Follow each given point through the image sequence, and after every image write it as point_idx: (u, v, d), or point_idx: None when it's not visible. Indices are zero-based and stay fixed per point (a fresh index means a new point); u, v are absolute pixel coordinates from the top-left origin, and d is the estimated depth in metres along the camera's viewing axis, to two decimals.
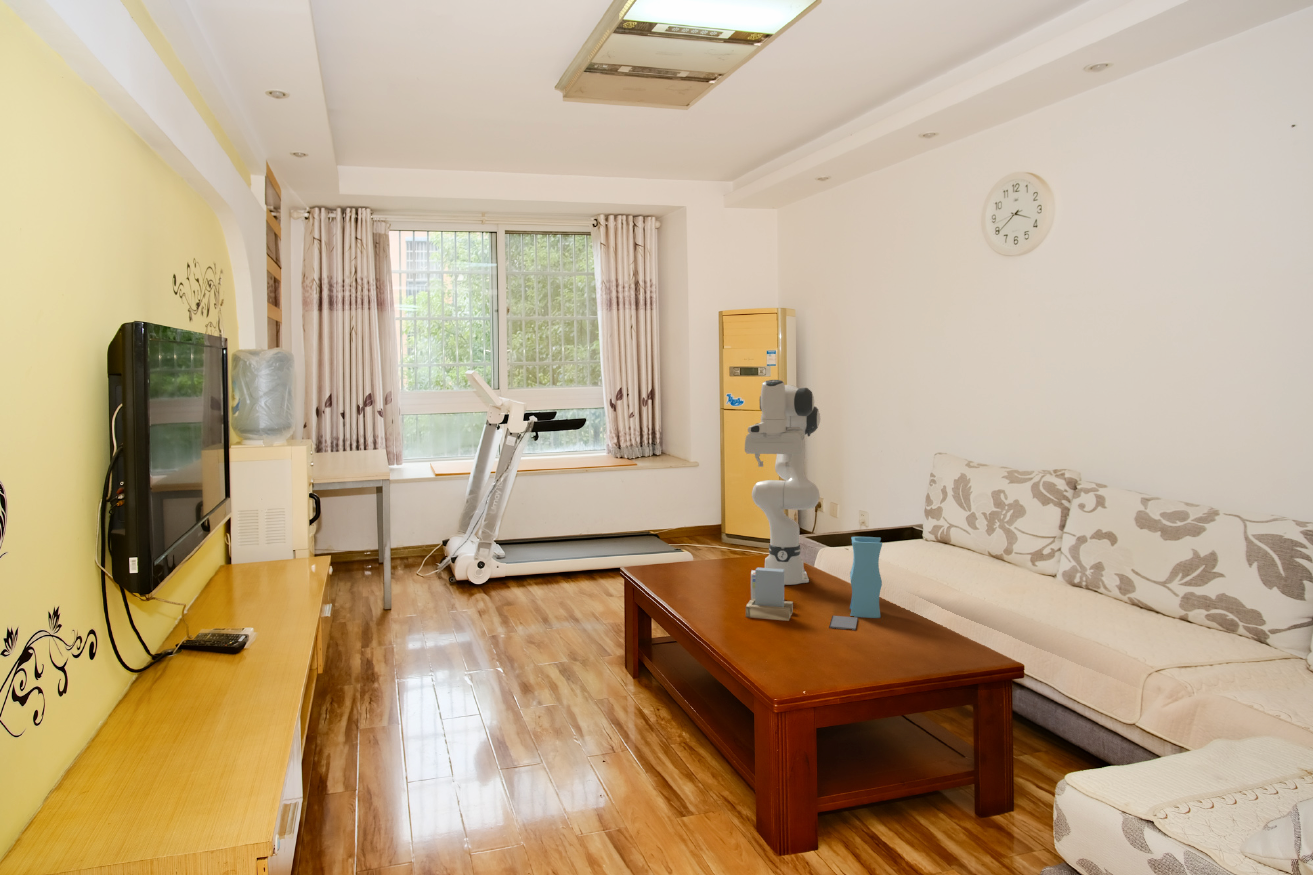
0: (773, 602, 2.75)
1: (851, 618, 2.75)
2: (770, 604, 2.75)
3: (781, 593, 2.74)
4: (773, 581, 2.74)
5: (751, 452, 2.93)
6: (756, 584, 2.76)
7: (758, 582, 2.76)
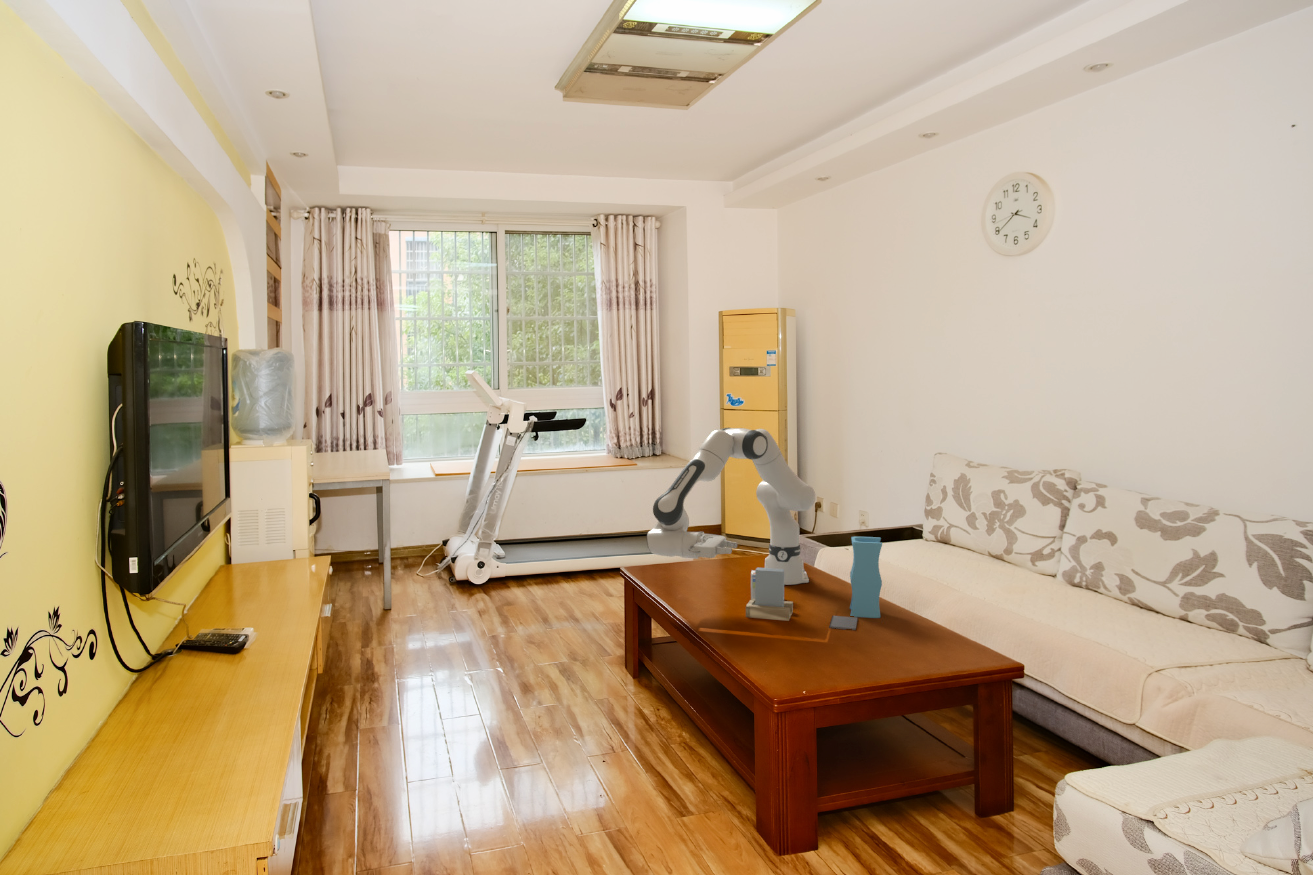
0: (773, 602, 2.75)
1: (851, 618, 2.75)
2: (770, 604, 2.75)
3: (781, 593, 2.74)
4: (773, 581, 2.74)
5: (723, 547, 2.88)
6: (756, 584, 2.76)
7: (758, 582, 2.76)
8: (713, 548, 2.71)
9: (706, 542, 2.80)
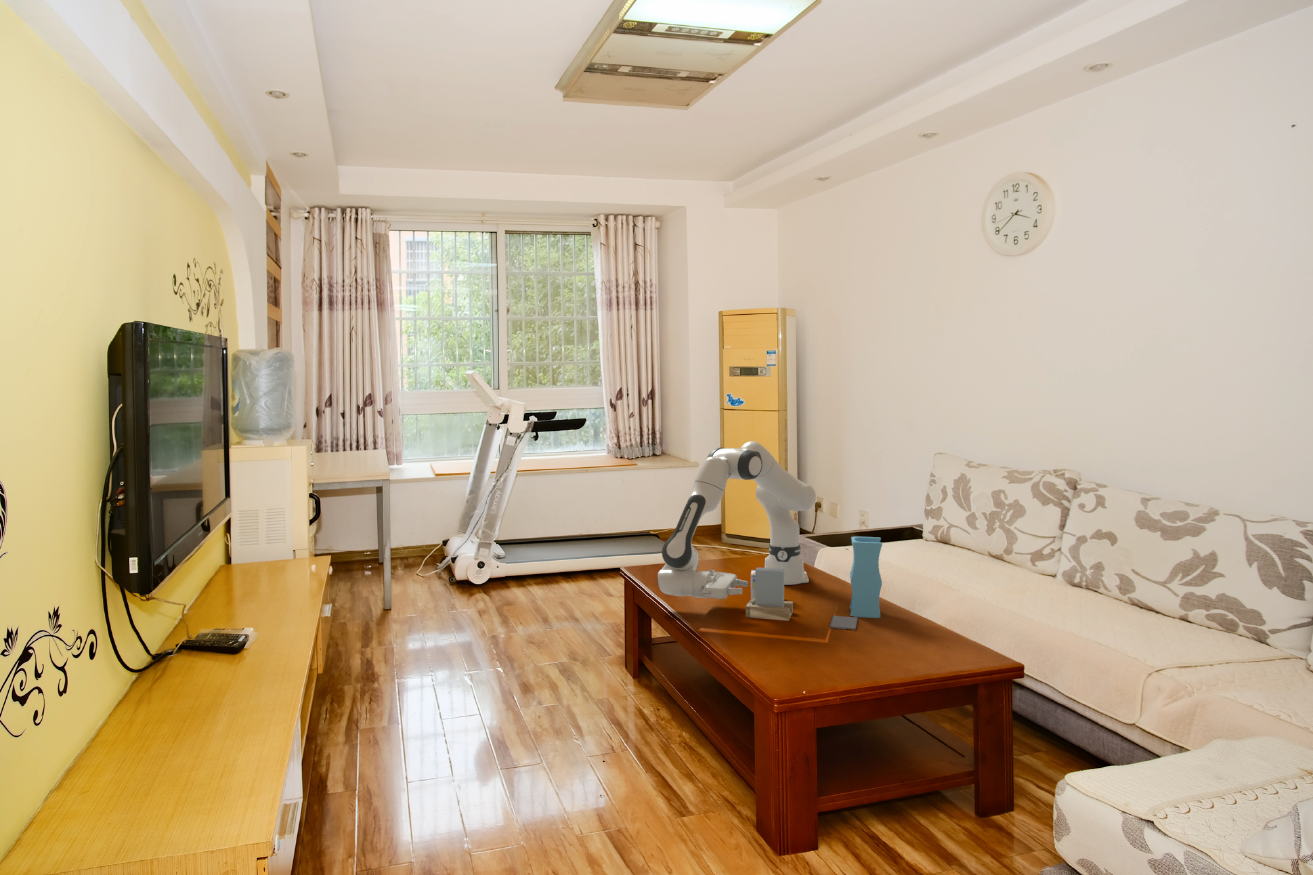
0: (773, 602, 2.75)
1: (851, 618, 2.75)
2: (770, 604, 2.75)
3: (781, 593, 2.74)
4: (773, 581, 2.74)
5: None
6: (756, 584, 2.76)
7: (758, 582, 2.76)
8: (724, 589, 2.72)
9: (717, 582, 2.80)
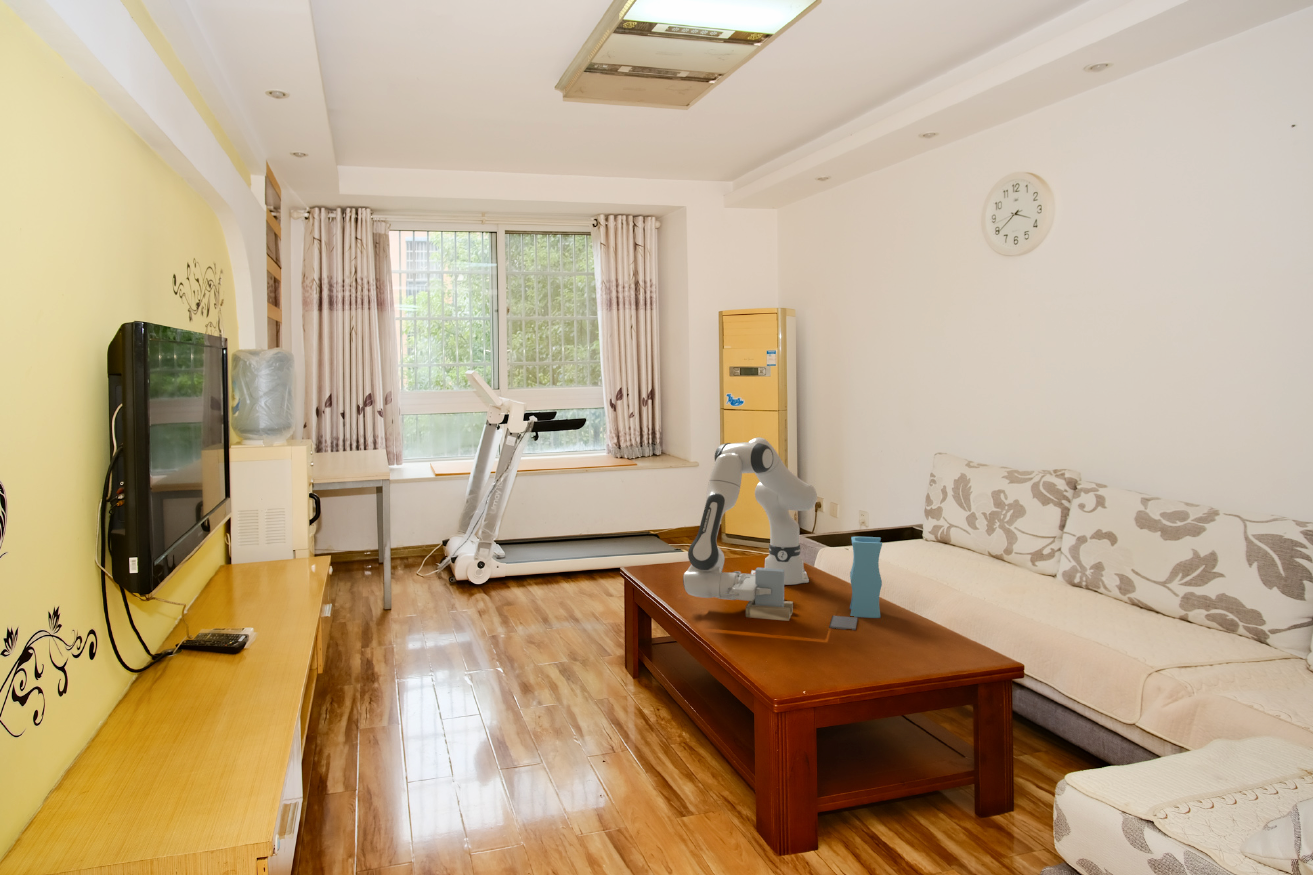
0: (773, 602, 2.75)
1: (851, 618, 2.75)
2: (770, 604, 2.75)
3: (781, 593, 2.74)
4: (773, 581, 2.74)
5: None
6: None
7: (758, 582, 2.76)
8: (752, 591, 2.69)
9: (744, 583, 2.78)
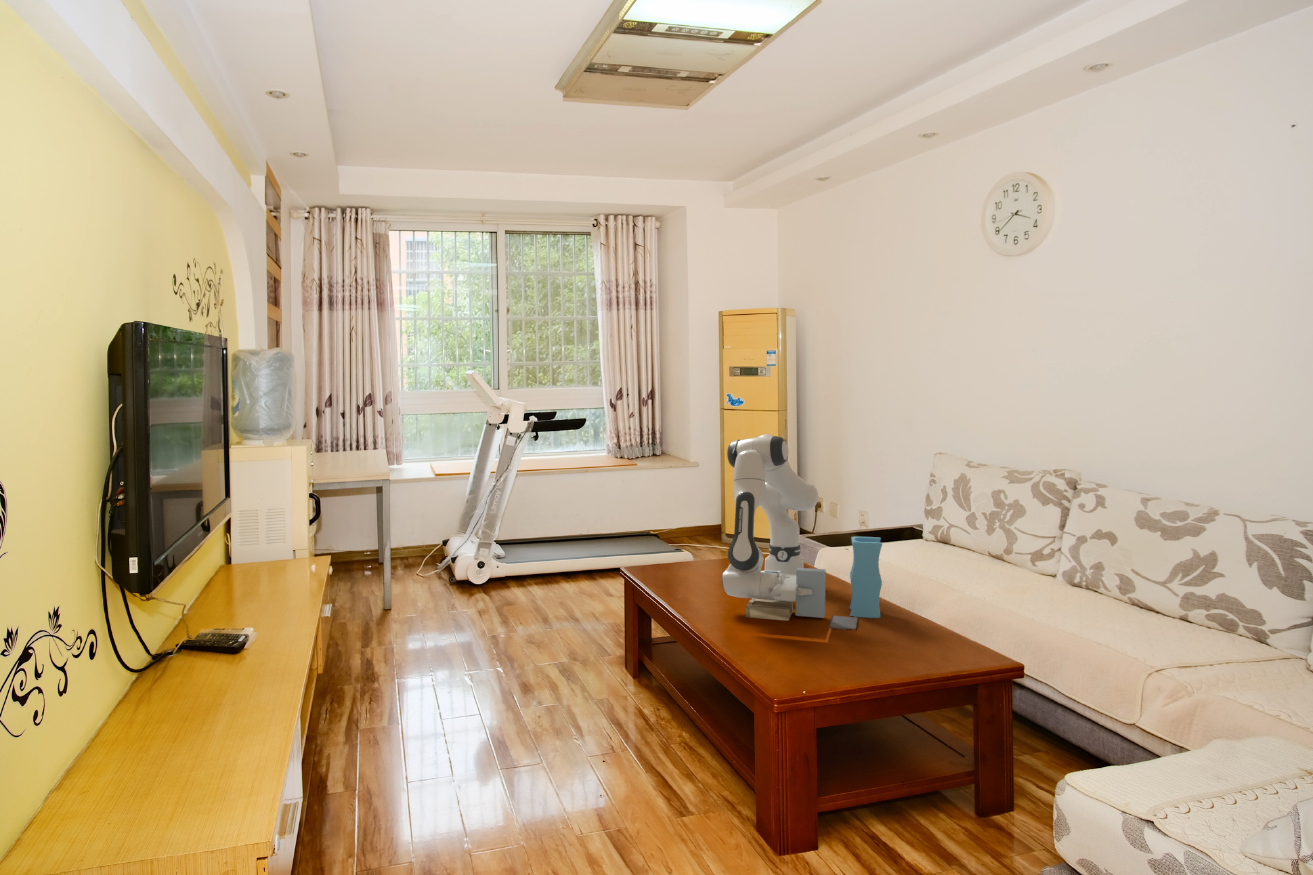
0: (814, 603, 2.71)
1: (851, 618, 2.75)
2: (811, 605, 2.72)
3: (823, 593, 2.70)
4: (815, 581, 2.71)
5: None
6: (797, 584, 2.72)
7: (799, 583, 2.72)
8: (794, 591, 2.65)
9: (784, 584, 2.74)
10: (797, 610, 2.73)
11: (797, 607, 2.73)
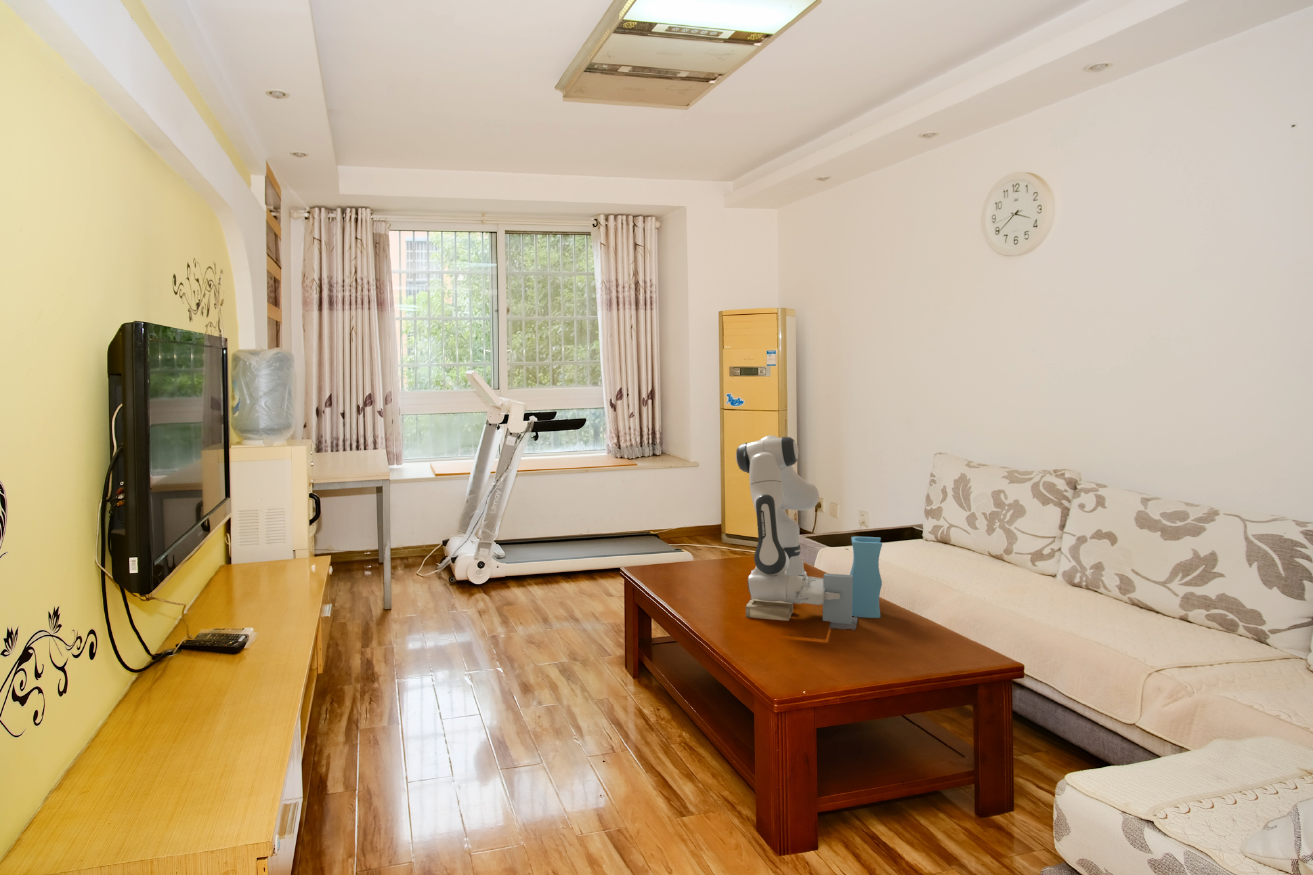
0: (841, 609, 2.69)
1: None
2: (838, 611, 2.69)
3: (850, 599, 2.68)
4: (842, 587, 2.68)
5: None
6: None
7: (827, 589, 2.70)
8: (822, 595, 2.63)
9: (811, 587, 2.71)
10: (824, 616, 2.71)
11: (824, 613, 2.71)
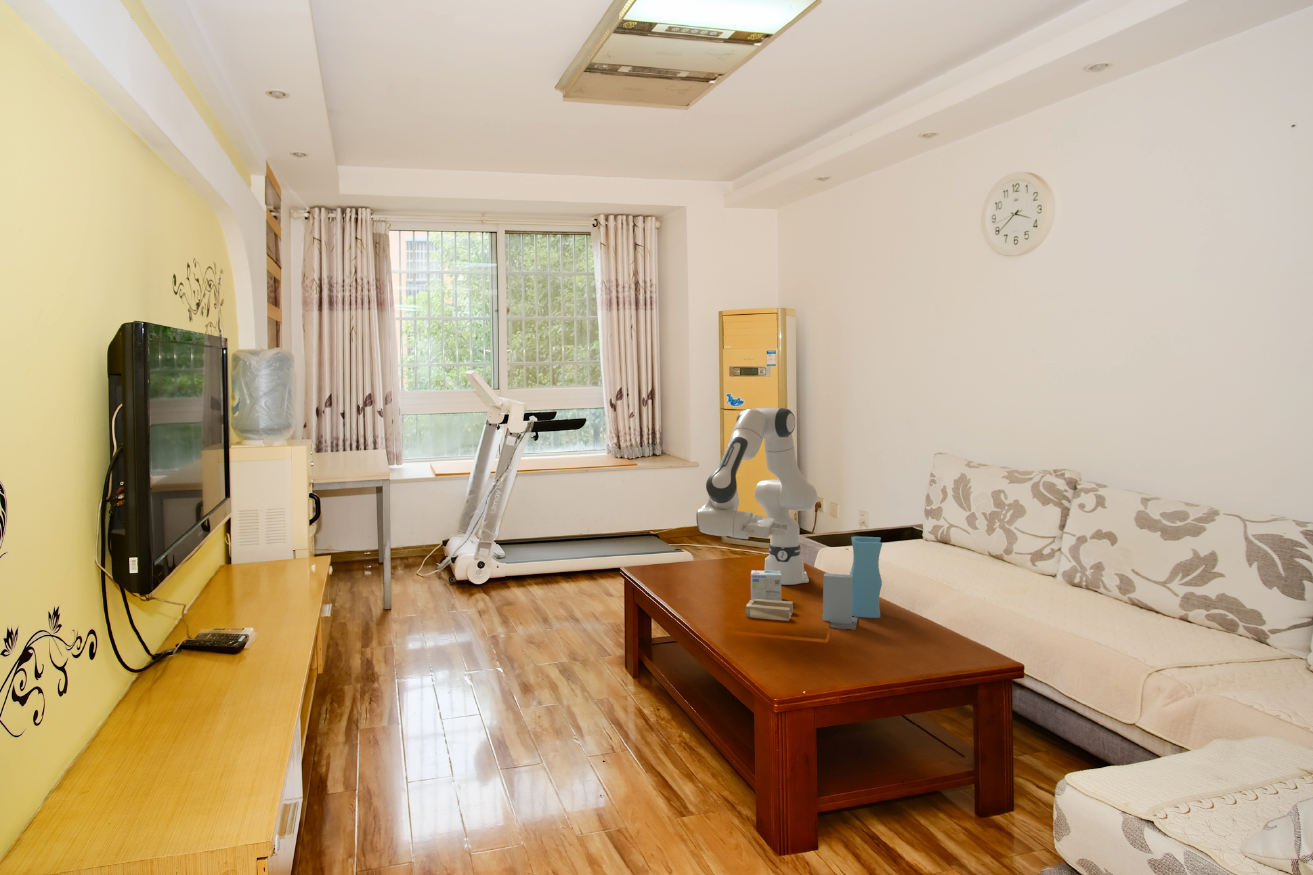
0: (841, 609, 2.69)
1: None
2: (838, 611, 2.69)
3: (850, 599, 2.68)
4: (842, 587, 2.68)
5: None
6: (824, 590, 2.70)
7: (827, 589, 2.70)
8: (767, 528, 2.67)
9: (758, 522, 2.76)
10: (824, 616, 2.71)
11: (824, 613, 2.71)
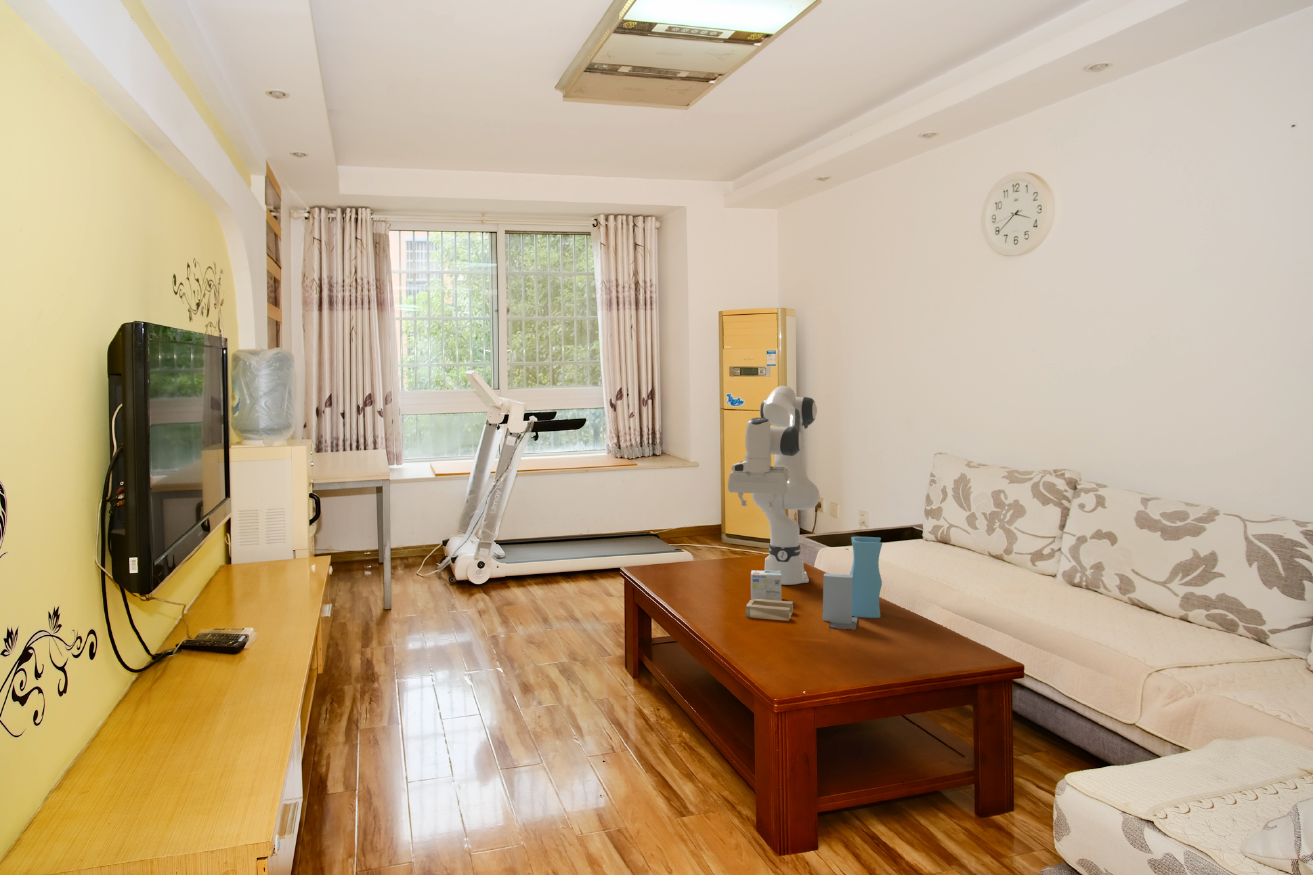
0: (841, 609, 2.69)
1: None
2: (838, 611, 2.69)
3: (850, 599, 2.68)
4: (842, 587, 2.68)
5: (734, 491, 2.86)
6: (824, 590, 2.70)
7: (827, 589, 2.70)
8: None
9: None
10: (824, 616, 2.71)
11: (824, 613, 2.71)
